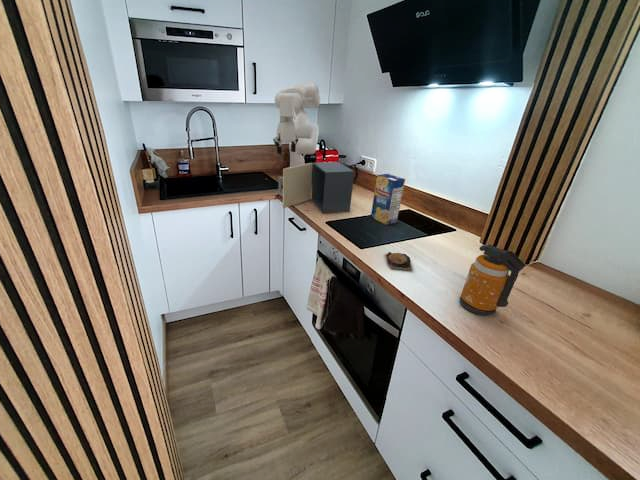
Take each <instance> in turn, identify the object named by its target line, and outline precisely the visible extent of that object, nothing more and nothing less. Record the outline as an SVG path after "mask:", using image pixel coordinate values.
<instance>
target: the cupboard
mask: <svg viewBox="0 0 640 480" xmlns="http://www.w3.org/2000/svg"><path fill="white" fill-rule="evenodd" d="M312 163H313V167H312V184H311V199H310V200H311V201H312V202H313V203H314V205H315V206H316V207H317V208H318V209H319V211H321V213H322V214H334V213H349V212H350V211H351V203H352V195H353V189H354V179H355V170H354V169H352V168H350V167H349V166H347V165H345V164H343V163H342V162H339V161H325V162H323V161H322V162H312Z"/></svg>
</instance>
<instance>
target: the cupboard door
mask: <svg viewBox="0 0 640 480" xmlns="http://www.w3.org/2000/svg"><path fill="white" fill-rule="evenodd" d="M313 163H314V162H308V163H305V164H304V165H299V166H294V167H290V166H289V167H285V168H282V176H278V192H277V193H278V195H279V196H282V209H286V208H289V207H292V206H294V205H298V204H301V203H304V202H307V201H310V200H311V196H312V179H313Z"/></svg>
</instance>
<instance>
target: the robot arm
mask: <svg viewBox="0 0 640 480" xmlns="http://www.w3.org/2000/svg"><path fill="white" fill-rule="evenodd" d="M320 104H321V96H320V91H319V87H318V84H316V82H298V83H296V84H295V85H294V86H292V87H288V88H284V89H281V90H279V91H278V92H276V94H275V96H274V105H275V107H276V108H278V109H279V122H278V123H277V128H276V135H275V136H274V137H273V138H272V140H273V143H274V145H275V146H276V153H277V155H282V153H283V149H282V145H283V144H287V143H288V149H289V168H290V167H294V166H299V165H304V164H306V163H305V161H306V160H305V158H304V156H303V155H314V154H316V151H317V147H318V141H319V140H318V139H319V132H320V129H319V125H318V124H317V123H315V122H309V120H310V116H309V114H308V112H307V111H306V110H305V109H317V108H319V107H320Z"/></svg>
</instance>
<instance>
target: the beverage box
mask: <svg viewBox="0 0 640 480" xmlns="http://www.w3.org/2000/svg"><path fill="white" fill-rule="evenodd" d="M405 182H406V178H403V177H400V176H398V175H397V176H396V175H393V174H390V173H383V174H377V175H376V180H375V188H374V195H373V200H372V206H371V212H370V213H371V215H370V218H372V219H374V220H376V221H377V222H379V223H381V224H383V225H387V226H388V225H392V224H396V223H398V220H399V219H398V218H399V215H400V214H399V213H400V209H401V203H402V198H403V193H404V188H405V184H406V183H405Z"/></svg>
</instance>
